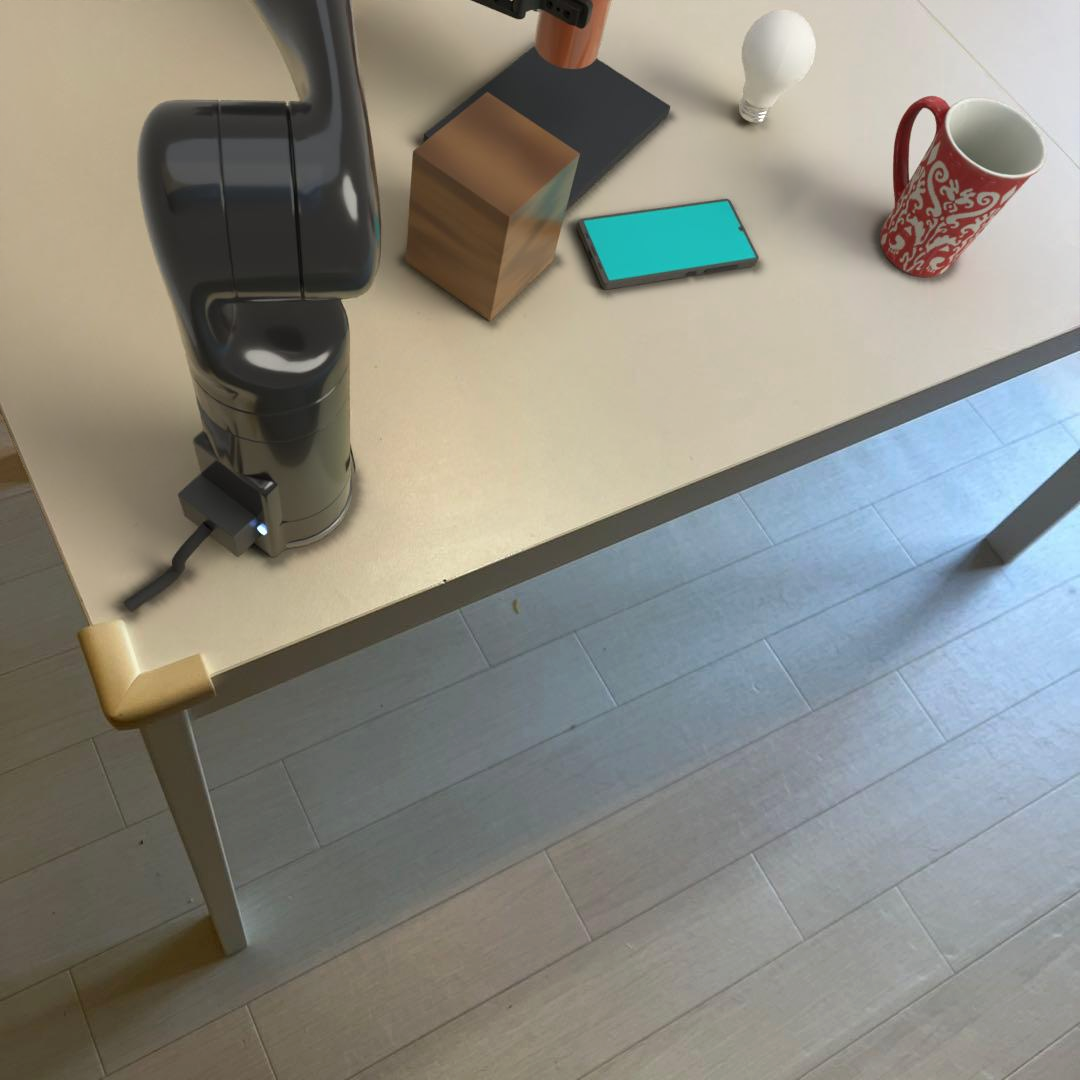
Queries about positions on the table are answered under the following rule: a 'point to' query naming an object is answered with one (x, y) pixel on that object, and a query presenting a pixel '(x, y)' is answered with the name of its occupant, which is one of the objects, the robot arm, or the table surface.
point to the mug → (956, 180)
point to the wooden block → (487, 204)
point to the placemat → (576, 111)
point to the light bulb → (774, 60)
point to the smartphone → (666, 243)
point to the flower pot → (571, 38)
